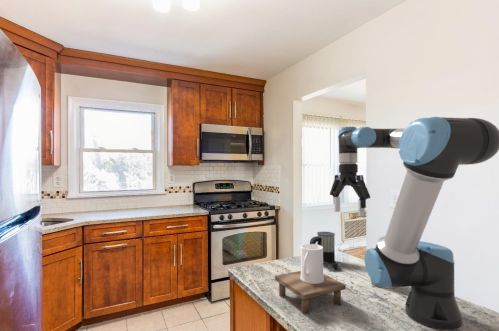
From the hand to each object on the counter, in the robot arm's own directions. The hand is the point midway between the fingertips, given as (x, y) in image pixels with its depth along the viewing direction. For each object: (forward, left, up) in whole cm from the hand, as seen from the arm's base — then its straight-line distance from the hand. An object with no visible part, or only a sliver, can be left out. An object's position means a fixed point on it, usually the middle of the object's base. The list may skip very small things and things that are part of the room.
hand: (348, 213), depth 116 cm
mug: (-6, +25, -22) cm, 34 cm away
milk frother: (+21, -7, -29) cm, 36 cm away
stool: (-5, +25, -29) cm, 38 cm away
